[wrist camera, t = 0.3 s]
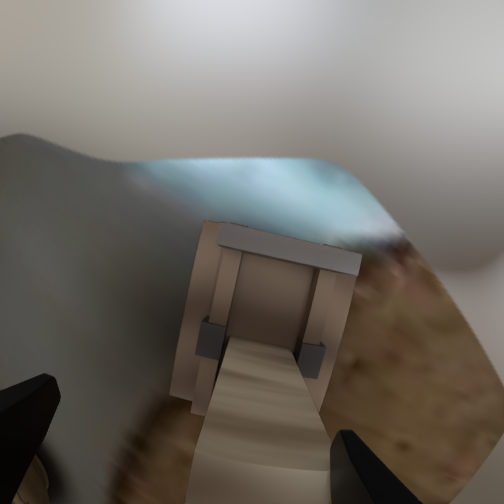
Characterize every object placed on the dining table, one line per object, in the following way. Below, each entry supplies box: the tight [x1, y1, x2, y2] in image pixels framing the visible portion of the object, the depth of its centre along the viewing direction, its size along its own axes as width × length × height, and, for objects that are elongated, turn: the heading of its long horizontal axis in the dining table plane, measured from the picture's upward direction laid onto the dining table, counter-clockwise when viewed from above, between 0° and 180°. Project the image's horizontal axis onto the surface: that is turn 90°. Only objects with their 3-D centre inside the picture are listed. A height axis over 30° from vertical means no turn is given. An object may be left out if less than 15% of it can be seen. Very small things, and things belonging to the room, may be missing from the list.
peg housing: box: [169, 220, 362, 417], centre depth 20 cm, size 14×12×8 cm
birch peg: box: [184, 336, 331, 504], centre depth 15 cm, size 4×4×15 cm
